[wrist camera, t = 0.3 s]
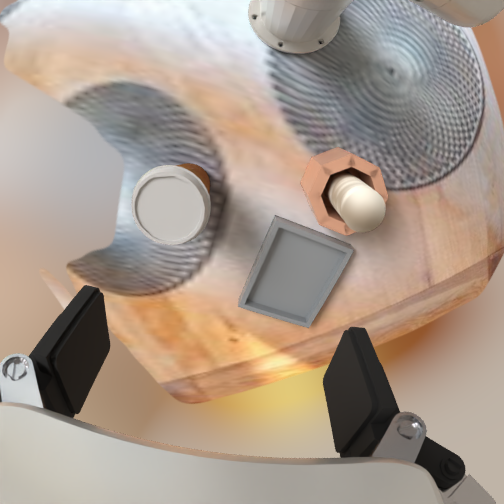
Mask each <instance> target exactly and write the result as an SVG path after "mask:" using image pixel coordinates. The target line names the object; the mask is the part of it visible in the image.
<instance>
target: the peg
mask: <svg viewBox="0 0 504 504" xmlns="http://www.w3.org/2000/svg"><path fill="white" fill-rule="evenodd" d="M323 193H324V195H325V196H326V197H327V199H328V200H329V201H330V203H331V204H332V205H333V207H334V208H335V209H336V211H337V212H338V213H339V215H340V216H341V217H342V219H343V220H344V221H345V223H346V224H347V225H348V227H349V228H350V229H352V230H354V231H356V232H360V233H365V232H369V231H372V230H374V229H375V228H377V227H378V226H379V225H380V224H381V222H382V221H383V219H384V216H385V211H386V207H385V202H384V200H383V198H382V196H381V195H380V194H379V193H377V192H376V191H375V190H373V189H372V188H371V187H369V186H368V185H367V184H365V183H364V182H363V181H361V180H360V179H358V178H357V177H356V176H354V175H353V174H352V173H350V172H349V171H347V170H345V169H344V170H342V171H339V172H336V173H334V174H331V175H330V177H329V179H328V181H327V183H326V185H325V188H324V190H323Z"/></svg>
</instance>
